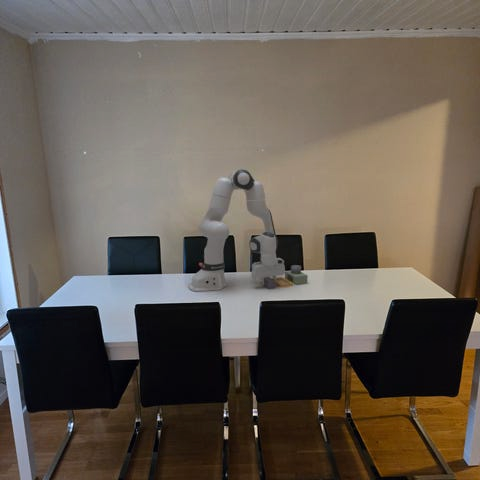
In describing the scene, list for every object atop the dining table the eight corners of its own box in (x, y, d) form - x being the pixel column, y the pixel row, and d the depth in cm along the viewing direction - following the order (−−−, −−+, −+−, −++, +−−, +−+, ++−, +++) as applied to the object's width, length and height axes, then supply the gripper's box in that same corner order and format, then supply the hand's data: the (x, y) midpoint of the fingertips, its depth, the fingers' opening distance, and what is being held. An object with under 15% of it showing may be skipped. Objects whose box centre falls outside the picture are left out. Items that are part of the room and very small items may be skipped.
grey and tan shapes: (281, 287, 221) (281, 272, 219) (270, 280, 234) (270, 266, 232) (307, 283, 228) (308, 268, 226) (295, 277, 240) (296, 263, 239)
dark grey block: (269, 289, 218) (269, 281, 217) (261, 284, 227) (261, 276, 226) (275, 288, 219) (275, 280, 218) (267, 283, 228) (267, 275, 227)
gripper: (254, 263, 213) (254, 287, 216) (286, 260, 221) (286, 283, 223) (249, 261, 219) (249, 284, 221) (281, 257, 226) (280, 280, 229)
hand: (268, 283), depth 222 cm, fingers open, 4 cm apart
